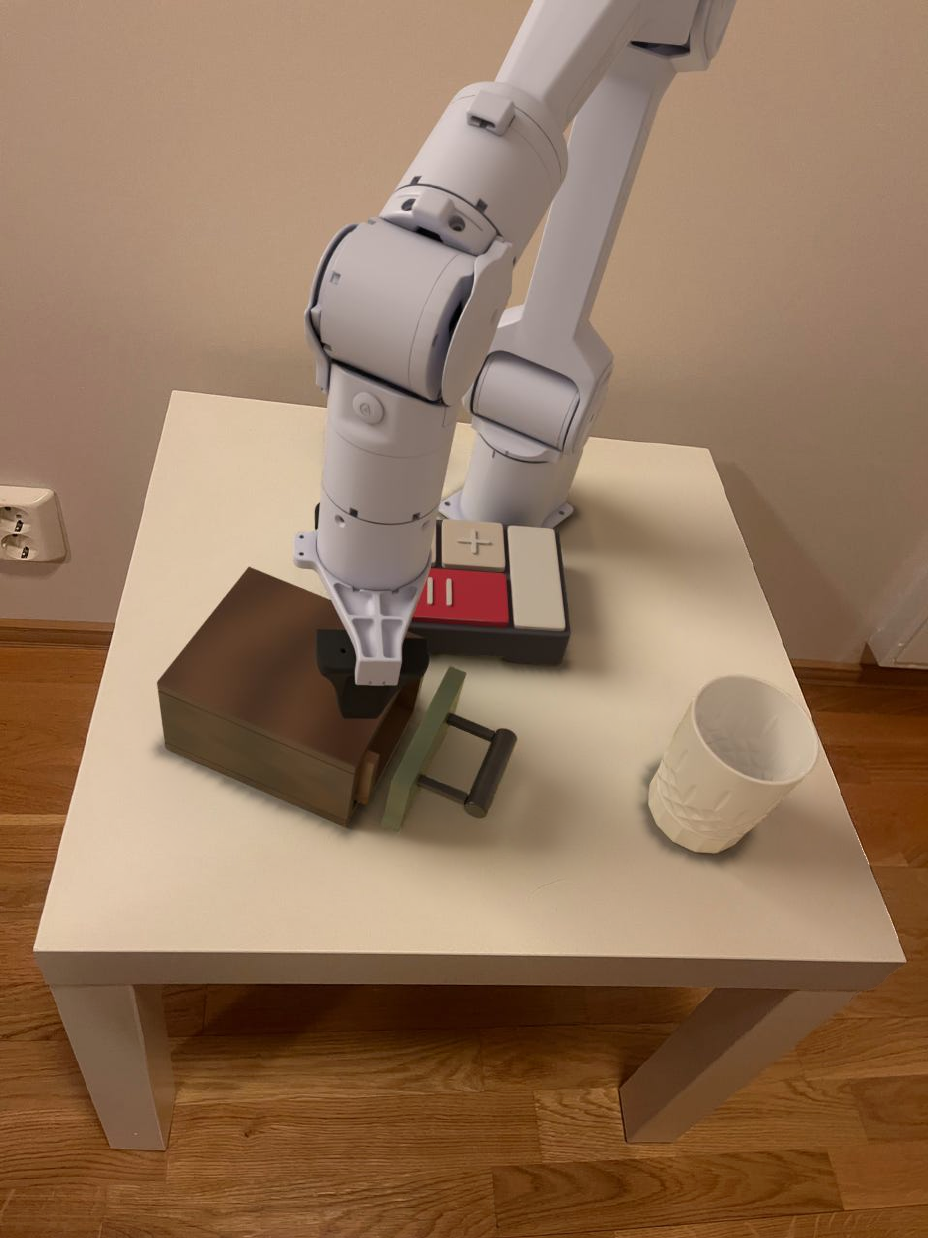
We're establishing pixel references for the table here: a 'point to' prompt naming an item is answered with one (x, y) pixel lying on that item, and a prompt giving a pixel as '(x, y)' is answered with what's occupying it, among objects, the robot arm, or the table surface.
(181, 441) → the table surface
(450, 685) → the drawer
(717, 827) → the white cup
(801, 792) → the table surface
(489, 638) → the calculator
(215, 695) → the cabinet
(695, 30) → the robot arm
